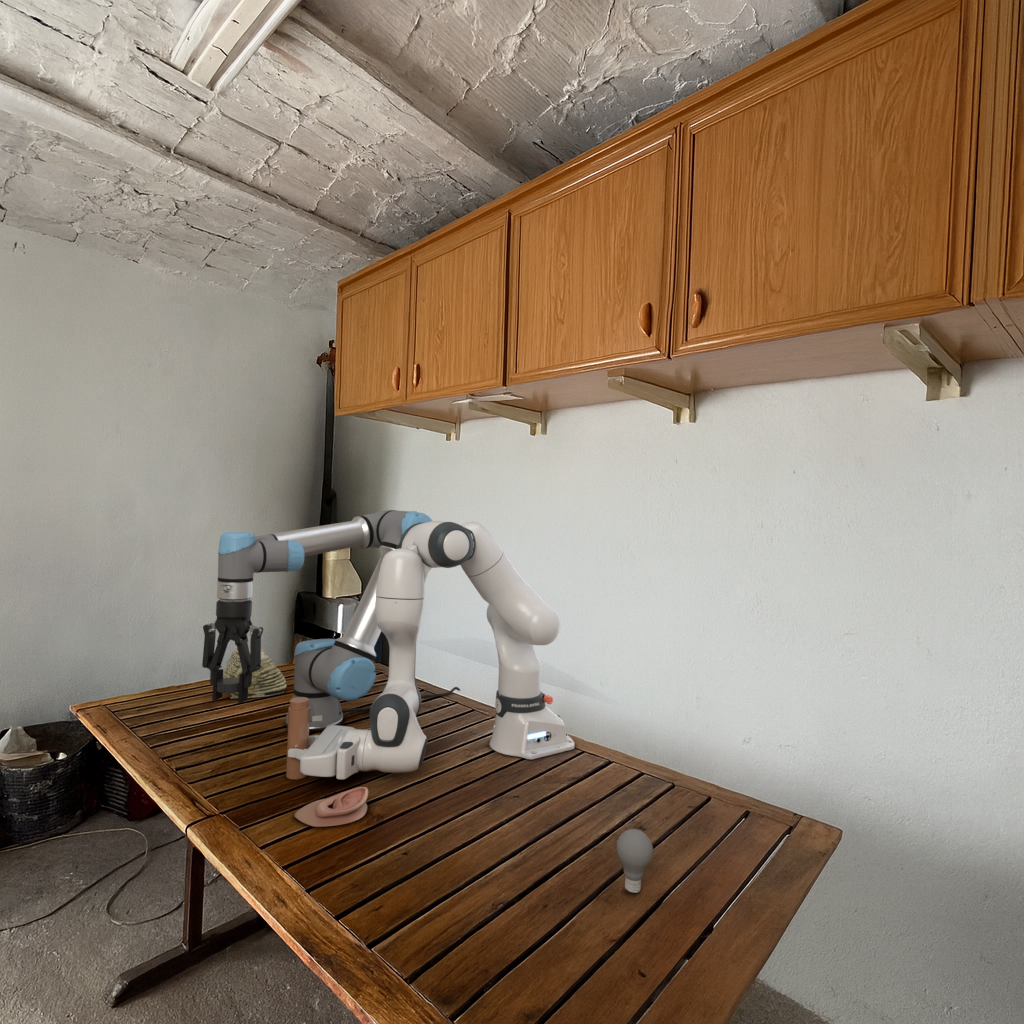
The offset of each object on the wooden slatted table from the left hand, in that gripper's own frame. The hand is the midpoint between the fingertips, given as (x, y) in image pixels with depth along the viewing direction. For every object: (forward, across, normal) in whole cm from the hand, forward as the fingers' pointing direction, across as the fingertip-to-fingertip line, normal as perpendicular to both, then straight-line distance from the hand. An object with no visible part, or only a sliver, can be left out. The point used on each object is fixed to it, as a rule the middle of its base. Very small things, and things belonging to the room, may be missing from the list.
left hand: (230, 699), depth 146 cm
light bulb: (+15, +90, -29) cm, 96 cm away
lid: (-4, 0, 0) cm, 4 cm away
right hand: (+9, +16, 0) cm, 19 cm away
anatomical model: (+16, +32, -15) cm, 39 cm away
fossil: (+15, -22, +50) cm, 56 cm away
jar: (+16, +17, 0) cm, 23 cm away
